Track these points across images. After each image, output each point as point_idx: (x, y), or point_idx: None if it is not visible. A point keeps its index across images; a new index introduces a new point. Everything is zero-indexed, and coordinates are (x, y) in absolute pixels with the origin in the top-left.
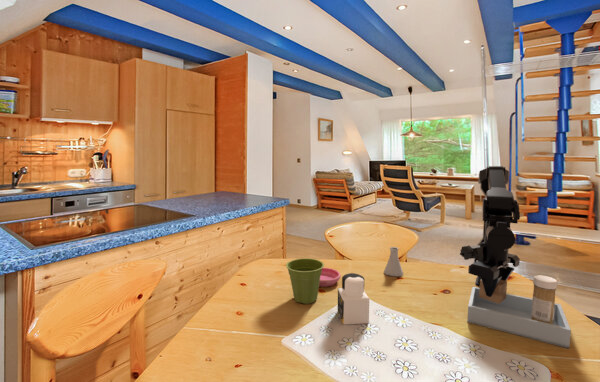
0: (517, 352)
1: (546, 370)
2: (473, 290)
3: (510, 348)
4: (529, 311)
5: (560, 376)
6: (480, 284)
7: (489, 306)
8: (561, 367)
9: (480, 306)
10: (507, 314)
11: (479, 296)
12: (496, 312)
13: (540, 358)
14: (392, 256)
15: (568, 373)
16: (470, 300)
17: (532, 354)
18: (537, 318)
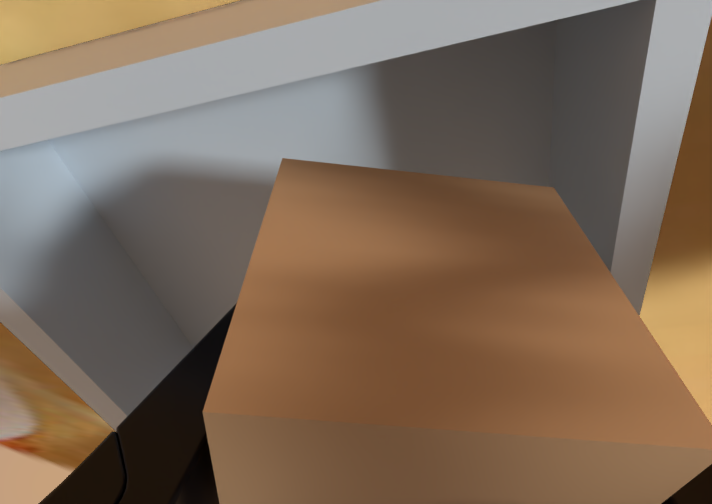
0: (7, 365)
1: (8, 432)
2: (495, 7)
3: (3, 342)
4: None
5: (25, 454)
6: (237, 323)
7: (472, 153)
8: (90, 453)
9: (409, 82)
10: (114, 412)
11: (279, 170)
12: (52, 365)
13: (71, 416)
14: None
15: (75, 464)
16: (19, 108)
17: (67, 398)
18: None
